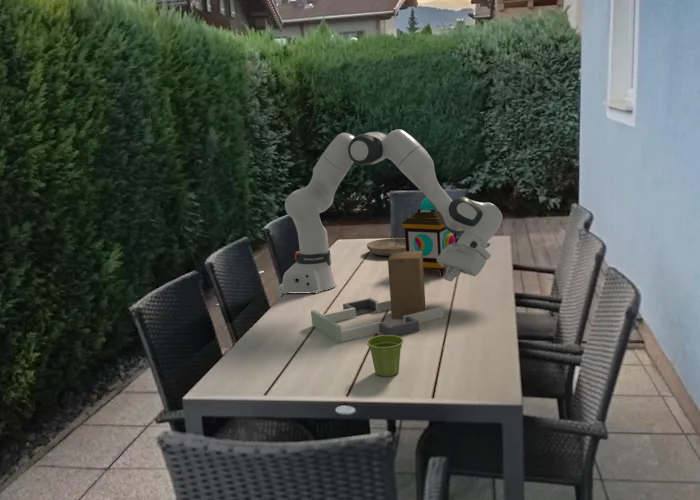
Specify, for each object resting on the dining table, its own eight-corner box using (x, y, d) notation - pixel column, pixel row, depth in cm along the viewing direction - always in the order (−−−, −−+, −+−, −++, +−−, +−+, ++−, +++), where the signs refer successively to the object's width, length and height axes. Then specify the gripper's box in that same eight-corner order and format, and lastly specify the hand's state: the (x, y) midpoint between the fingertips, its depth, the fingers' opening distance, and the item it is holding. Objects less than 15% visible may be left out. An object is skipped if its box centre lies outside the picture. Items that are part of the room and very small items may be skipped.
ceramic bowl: (403, 261, 296) (403, 249, 295) (357, 257, 309) (357, 247, 308) (428, 249, 315) (427, 238, 314) (384, 246, 328) (383, 236, 327)
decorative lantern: (465, 266, 279) (462, 192, 273) (444, 278, 263) (441, 201, 257) (421, 263, 290) (417, 192, 284) (399, 274, 274) (394, 200, 268)
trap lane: (411, 303, 235) (411, 289, 234) (443, 317, 218) (442, 302, 217) (312, 325, 220) (310, 310, 218) (338, 342, 202) (336, 326, 201)
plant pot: (367, 367, 182) (364, 336, 180) (402, 363, 183) (400, 333, 181) (371, 381, 173) (368, 349, 171) (408, 377, 174) (406, 345, 172)
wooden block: (422, 319, 218) (419, 257, 213) (391, 319, 220) (387, 258, 216) (425, 309, 227) (422, 250, 223) (395, 309, 229) (392, 251, 225)
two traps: (370, 306, 235) (370, 298, 234) (419, 330, 207) (418, 321, 207) (343, 312, 231) (342, 304, 230) (389, 338, 203) (388, 328, 202)
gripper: (446, 236, 238) (424, 268, 236) (482, 245, 220) (458, 280, 218) (457, 247, 241) (435, 279, 239) (494, 256, 223) (470, 291, 221)
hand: (446, 279), depth 228 cm, fingers closed
